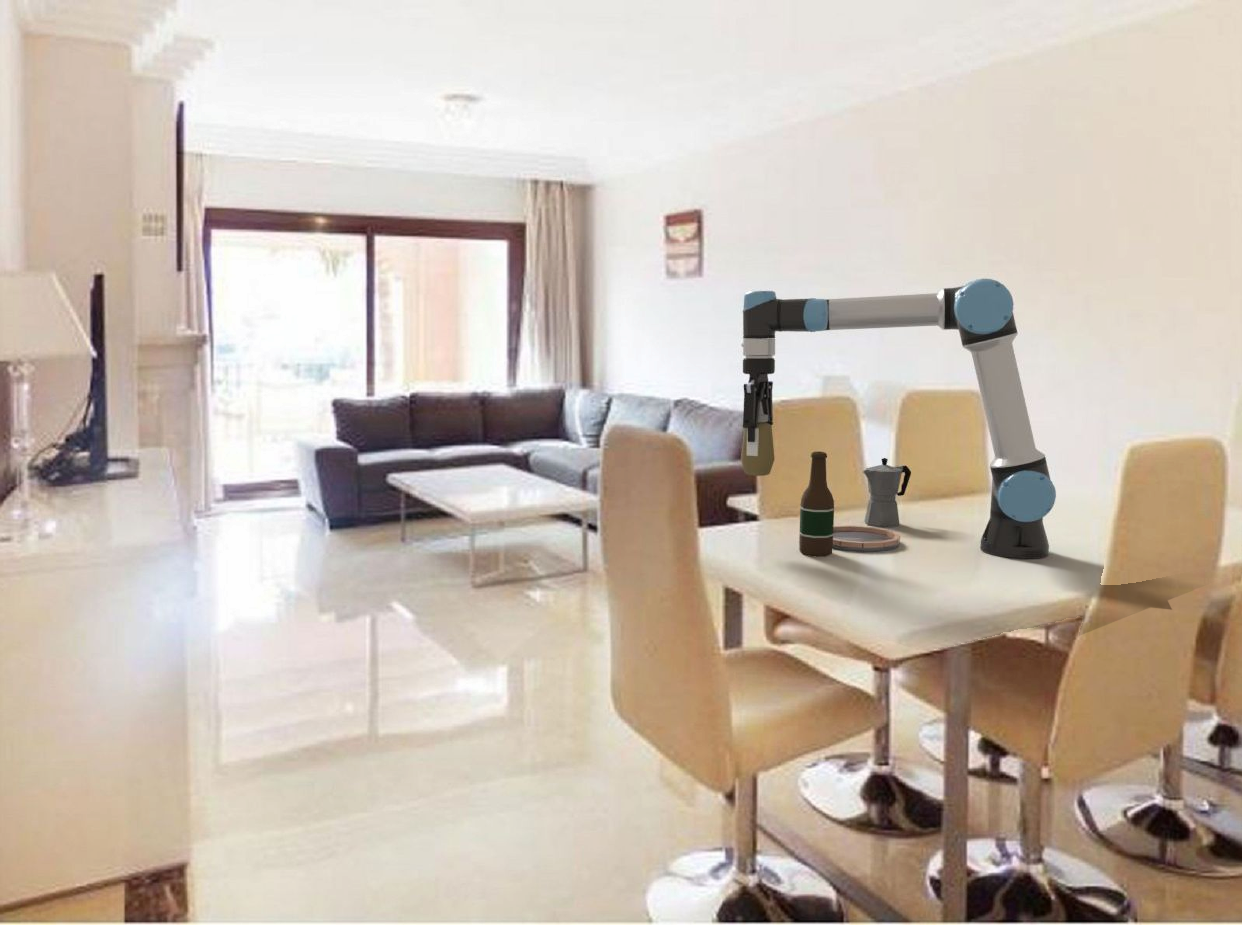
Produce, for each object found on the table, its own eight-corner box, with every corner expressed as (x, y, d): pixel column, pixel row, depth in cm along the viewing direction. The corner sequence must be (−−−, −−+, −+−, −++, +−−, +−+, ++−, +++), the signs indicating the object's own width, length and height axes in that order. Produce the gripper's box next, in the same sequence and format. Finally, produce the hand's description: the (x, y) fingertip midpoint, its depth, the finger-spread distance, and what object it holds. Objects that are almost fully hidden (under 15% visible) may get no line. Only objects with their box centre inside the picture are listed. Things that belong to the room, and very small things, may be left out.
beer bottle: (812, 558, 223) (816, 455, 220) (792, 551, 230) (795, 451, 227) (839, 554, 227) (843, 453, 223) (818, 548, 234) (821, 449, 230)
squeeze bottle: (778, 473, 235) (779, 398, 232) (769, 477, 228) (769, 401, 225) (746, 471, 238) (747, 398, 236) (736, 475, 231) (736, 400, 229)
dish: (915, 544, 238) (916, 535, 238) (864, 555, 226) (865, 546, 226) (849, 530, 254) (850, 522, 253) (799, 540, 241) (799, 532, 241)
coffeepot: (872, 529, 256) (875, 461, 253) (851, 522, 264) (853, 457, 262) (919, 524, 262) (922, 458, 259) (896, 518, 270) (899, 454, 268)
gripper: (758, 355, 239) (757, 448, 243) (728, 358, 222) (727, 457, 226) (787, 356, 236) (786, 450, 239) (759, 358, 219) (758, 459, 222)
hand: (757, 453), depth 232 cm, fingers closed on squeeze bottle, 6 cm apart
